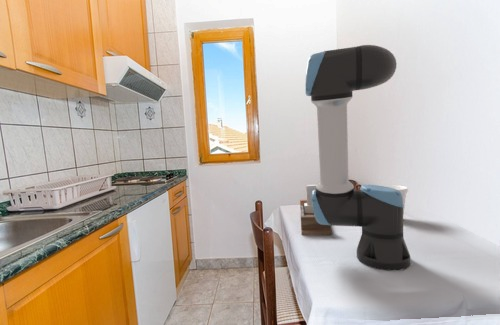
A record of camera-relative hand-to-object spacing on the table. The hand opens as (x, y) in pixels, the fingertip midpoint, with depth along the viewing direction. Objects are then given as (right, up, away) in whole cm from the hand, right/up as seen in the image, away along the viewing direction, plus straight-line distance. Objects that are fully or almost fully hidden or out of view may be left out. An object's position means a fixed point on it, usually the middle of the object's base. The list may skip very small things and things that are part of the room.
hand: (334, 152), depth 121 cm
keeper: (-8, -31, +12) cm, 34 cm away
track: (-9, -33, +1) cm, 35 cm away
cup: (+26, -32, -2) cm, 41 cm away
